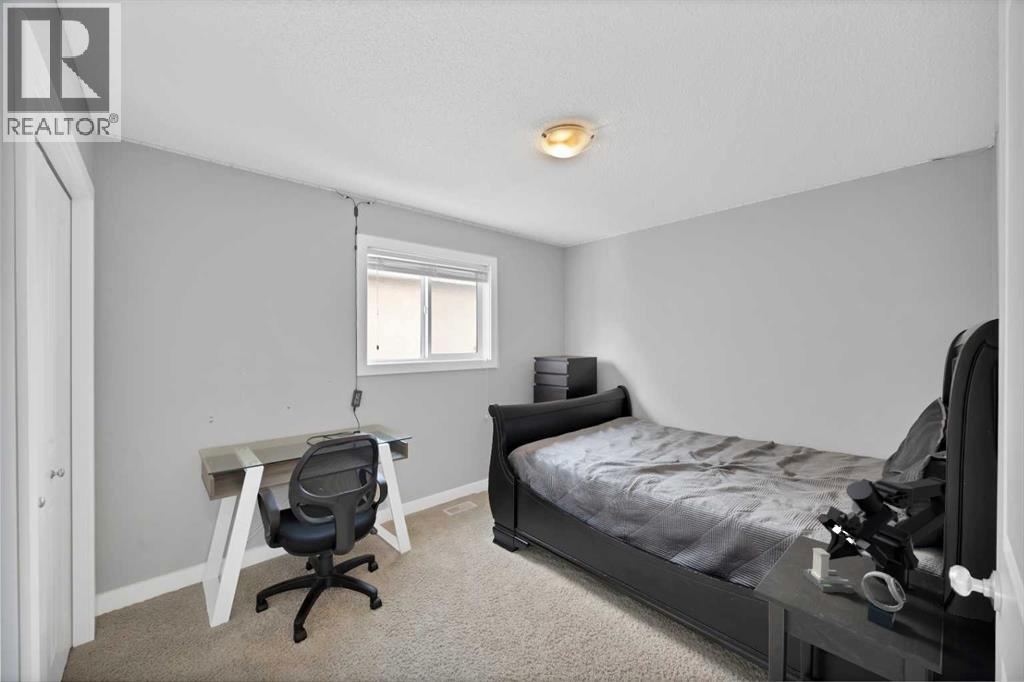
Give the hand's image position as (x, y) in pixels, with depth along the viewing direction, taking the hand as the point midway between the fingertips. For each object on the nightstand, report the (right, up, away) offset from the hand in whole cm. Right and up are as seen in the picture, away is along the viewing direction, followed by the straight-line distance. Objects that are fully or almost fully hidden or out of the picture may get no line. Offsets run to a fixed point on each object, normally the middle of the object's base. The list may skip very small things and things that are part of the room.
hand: (826, 558), depth 114 cm
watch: (+3, -8, -14) cm, 16 cm away
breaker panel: (+1, -7, 0) cm, 7 cm away
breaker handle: (-1, -5, 0) cm, 6 cm away
